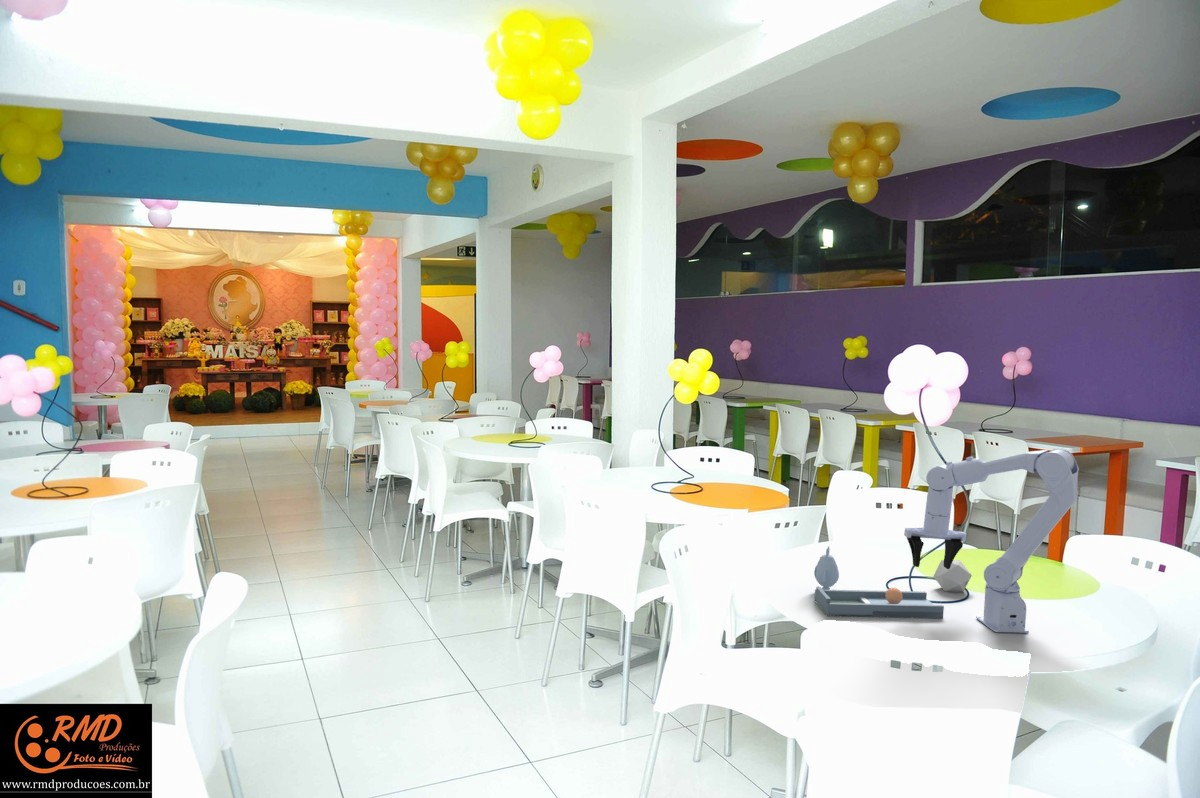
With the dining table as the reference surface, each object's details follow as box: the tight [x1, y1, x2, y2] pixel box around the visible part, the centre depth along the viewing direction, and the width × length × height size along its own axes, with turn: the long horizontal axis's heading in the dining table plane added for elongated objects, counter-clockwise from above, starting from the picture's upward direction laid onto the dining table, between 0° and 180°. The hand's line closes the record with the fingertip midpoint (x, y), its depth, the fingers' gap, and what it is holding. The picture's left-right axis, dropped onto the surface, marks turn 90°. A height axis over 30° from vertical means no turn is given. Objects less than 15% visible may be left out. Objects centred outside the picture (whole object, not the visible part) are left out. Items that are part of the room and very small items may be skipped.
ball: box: [885, 587, 903, 604], centre depth 198 cm, size 4×4×4 cm
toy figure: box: [813, 545, 840, 590], centre depth 211 cm, size 11×6×12 cm, turn 156°
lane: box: [814, 586, 945, 619], centre depth 198 cm, size 11×28×4 cm, turn 90°
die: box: [933, 559, 973, 592], centre depth 215 cm, size 8×9×10 cm
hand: (931, 566), depth 199 cm, fingers open, 7 cm apart
